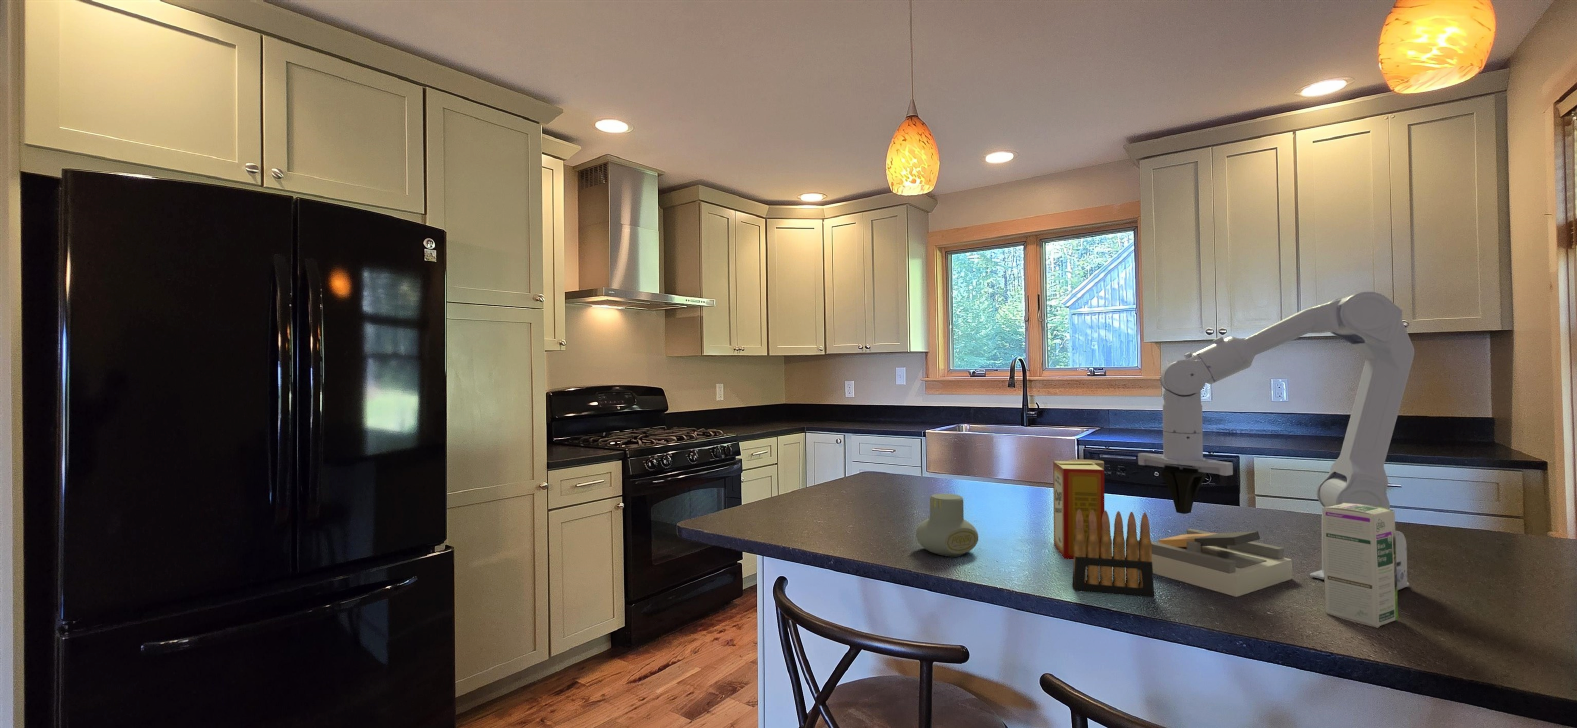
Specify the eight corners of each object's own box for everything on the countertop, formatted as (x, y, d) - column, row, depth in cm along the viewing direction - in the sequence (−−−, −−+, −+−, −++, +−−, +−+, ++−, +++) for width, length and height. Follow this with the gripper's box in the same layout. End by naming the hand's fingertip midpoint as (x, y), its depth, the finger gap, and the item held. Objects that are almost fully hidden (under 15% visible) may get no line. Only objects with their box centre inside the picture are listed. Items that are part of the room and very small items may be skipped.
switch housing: (1292, 578, 101) (1291, 543, 101) (1236, 596, 93) (1236, 558, 93) (1186, 553, 115) (1186, 522, 115) (1131, 566, 107) (1130, 533, 107)
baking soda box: (1104, 561, 110) (1104, 467, 110) (1064, 558, 112) (1063, 466, 112) (1091, 546, 120) (1090, 459, 120) (1053, 544, 121) (1053, 458, 121)
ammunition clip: (1151, 593, 95) (1150, 511, 95) (1154, 597, 93) (1153, 514, 93) (1072, 586, 98) (1071, 507, 98) (1074, 590, 96) (1073, 509, 96)
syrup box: (1378, 628, 81) (1377, 513, 81) (1322, 613, 87) (1321, 504, 87) (1399, 620, 84) (1397, 508, 84) (1343, 605, 89) (1342, 500, 89)
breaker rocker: (1260, 539, 100) (1258, 531, 101) (1235, 545, 97) (1233, 537, 97) (1184, 541, 111) (1182, 534, 111) (1160, 547, 107) (1158, 539, 108)
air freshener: (956, 542, 122) (956, 489, 123) (986, 554, 115) (986, 497, 115) (908, 549, 118) (908, 494, 118) (935, 561, 111) (935, 503, 111)
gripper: (1127, 429, 113) (1128, 507, 113) (1215, 436, 101) (1216, 524, 101) (1151, 427, 117) (1152, 502, 117) (1239, 434, 104) (1240, 518, 104)
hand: (1183, 512), depth 109 cm, fingers closed
